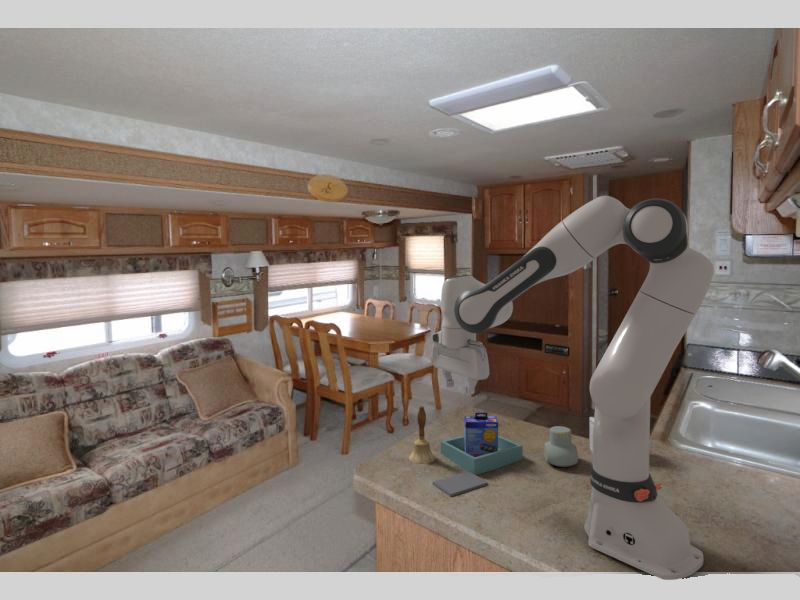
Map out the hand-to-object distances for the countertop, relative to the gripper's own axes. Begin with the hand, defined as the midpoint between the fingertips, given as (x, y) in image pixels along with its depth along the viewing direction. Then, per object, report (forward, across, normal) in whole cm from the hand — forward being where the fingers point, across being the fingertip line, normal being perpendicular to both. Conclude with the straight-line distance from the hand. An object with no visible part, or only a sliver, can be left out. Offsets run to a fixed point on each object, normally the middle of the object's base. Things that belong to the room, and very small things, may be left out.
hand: (459, 390), depth 120 cm
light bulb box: (+25, -9, -49) cm, 56 cm away
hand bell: (+25, +19, 0) cm, 31 cm away
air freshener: (+25, -5, -32) cm, 41 cm away
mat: (+25, 0, +1) cm, 25 cm away
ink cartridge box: (+25, +10, -15) cm, 31 cm away
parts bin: (+25, +10, -15) cm, 31 cm away
